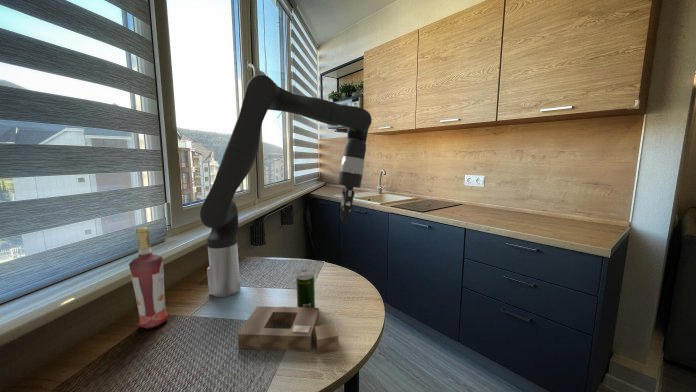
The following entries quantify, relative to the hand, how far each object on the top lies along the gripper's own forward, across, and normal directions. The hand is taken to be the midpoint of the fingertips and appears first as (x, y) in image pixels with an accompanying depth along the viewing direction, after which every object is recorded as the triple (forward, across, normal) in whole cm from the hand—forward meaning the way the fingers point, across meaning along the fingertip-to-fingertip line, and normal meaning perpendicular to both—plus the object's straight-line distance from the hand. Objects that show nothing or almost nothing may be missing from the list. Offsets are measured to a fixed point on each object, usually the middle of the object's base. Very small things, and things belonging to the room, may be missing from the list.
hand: (343, 220), depth 85 cm
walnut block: (+29, +22, -1) cm, 36 cm away
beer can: (+28, +6, -7) cm, 30 cm away
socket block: (+30, +16, -13) cm, 37 cm away
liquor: (+36, +8, -49) cm, 62 cm away
